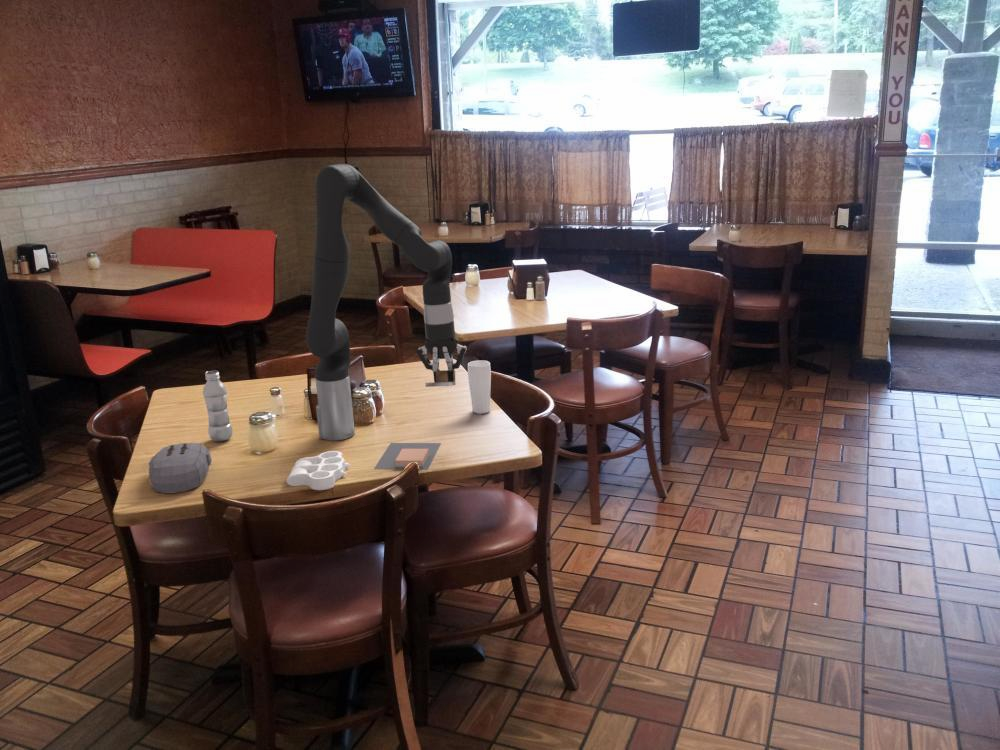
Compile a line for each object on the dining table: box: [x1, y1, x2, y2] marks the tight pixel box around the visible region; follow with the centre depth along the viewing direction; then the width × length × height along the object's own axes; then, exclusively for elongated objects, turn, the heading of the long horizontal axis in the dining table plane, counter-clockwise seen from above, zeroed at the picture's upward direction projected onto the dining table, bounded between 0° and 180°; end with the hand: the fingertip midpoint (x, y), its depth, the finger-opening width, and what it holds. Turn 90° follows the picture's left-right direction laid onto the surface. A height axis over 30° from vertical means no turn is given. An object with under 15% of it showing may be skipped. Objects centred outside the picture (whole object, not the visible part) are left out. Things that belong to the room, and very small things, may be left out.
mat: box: [373, 442, 442, 471], centre depth 232 cm, size 14×18×1 cm
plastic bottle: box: [202, 370, 233, 442], centre depth 248 cm, size 6×7×20 cm
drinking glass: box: [467, 359, 492, 415], centre depth 262 cm, size 7×7×15 cm
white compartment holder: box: [286, 450, 352, 491], centre depth 223 cm, size 3×18×15 cm
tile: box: [395, 449, 429, 468], centre depth 227 cm, size 7×2×8 cm
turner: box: [425, 369, 456, 388], centre depth 232 cm, size 6×17×4 cm, turn 172°
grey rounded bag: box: [148, 442, 213, 494], centre depth 224 cm, size 15×8×20 cm
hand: (444, 383), depth 232 cm, fingers closed on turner, 2 cm apart
